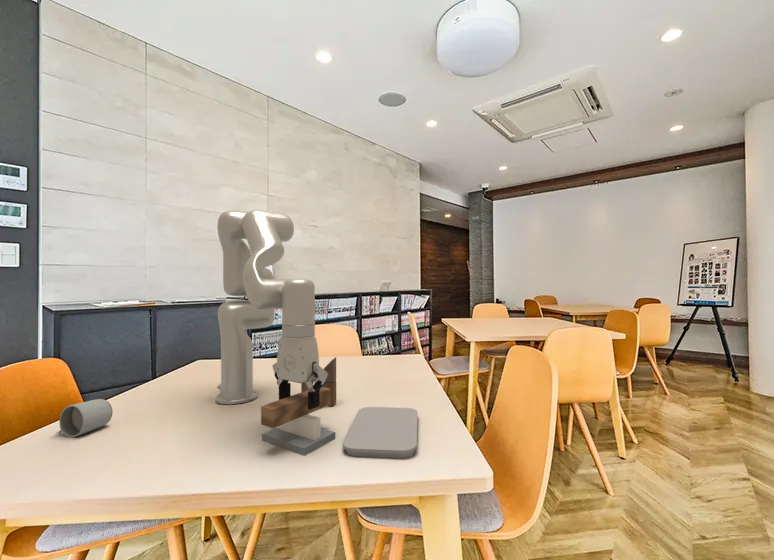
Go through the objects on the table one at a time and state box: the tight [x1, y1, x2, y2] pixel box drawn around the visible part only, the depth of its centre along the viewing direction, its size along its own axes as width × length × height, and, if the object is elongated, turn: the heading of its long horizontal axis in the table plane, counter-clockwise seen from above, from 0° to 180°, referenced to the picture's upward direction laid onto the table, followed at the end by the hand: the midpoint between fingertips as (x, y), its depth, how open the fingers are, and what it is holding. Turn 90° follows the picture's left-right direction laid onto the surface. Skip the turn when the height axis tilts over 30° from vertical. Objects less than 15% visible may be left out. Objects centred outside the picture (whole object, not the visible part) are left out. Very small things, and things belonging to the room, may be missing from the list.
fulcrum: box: [261, 413, 336, 456], centre depth 85 cm, size 14×10×6 cm
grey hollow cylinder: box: [58, 398, 113, 438], centre depth 91 cm, size 11×8×8 cm
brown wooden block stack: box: [300, 356, 337, 407], centre depth 110 cm, size 4×11×18 cm, turn 83°
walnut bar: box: [260, 387, 330, 429], centre depth 85 cm, size 18×4×4 cm, turn 147°
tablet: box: [342, 406, 419, 459], centre depth 88 cm, size 16×26×2 cm, turn 174°
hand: (298, 404), depth 85 cm, fingers open, 9 cm apart
